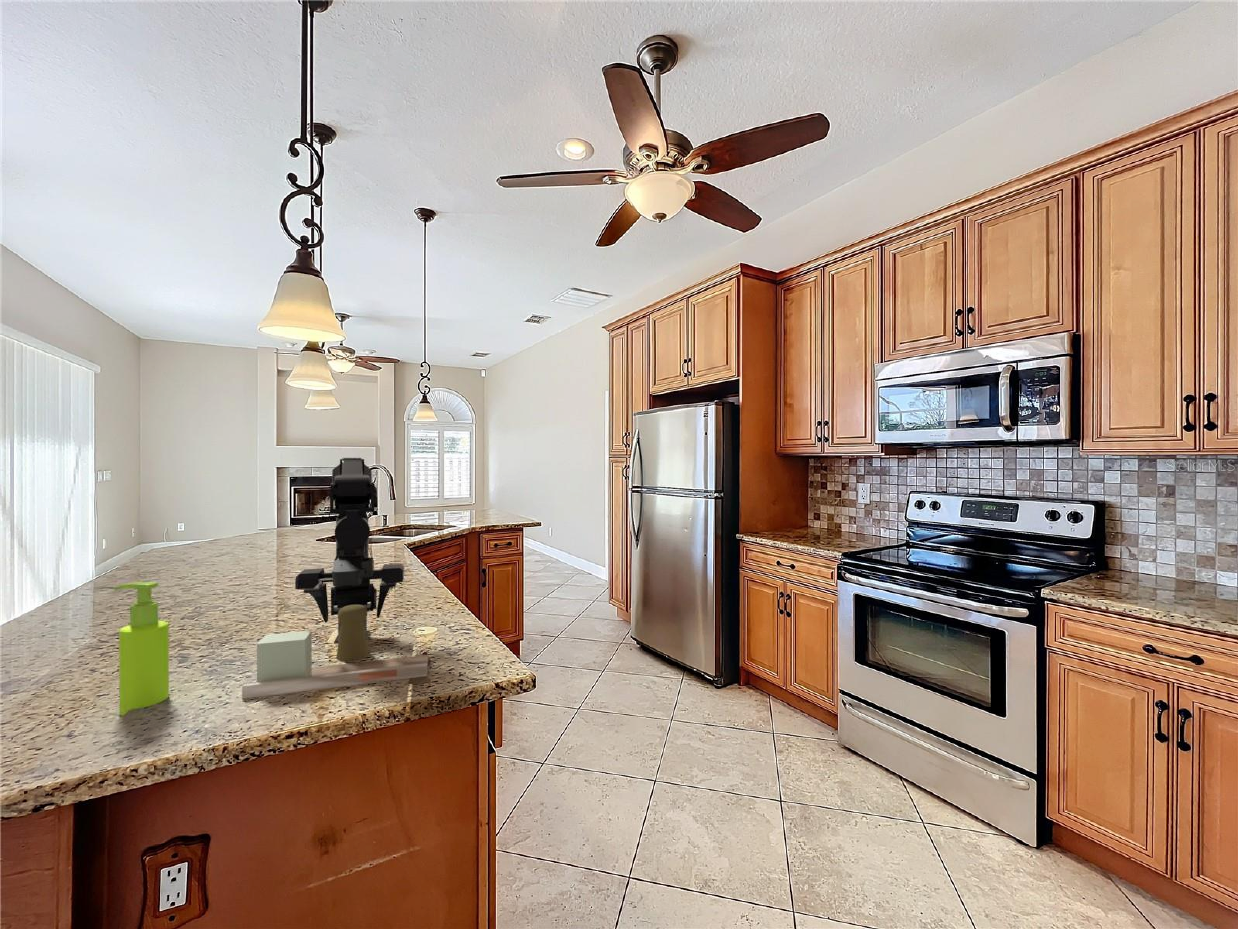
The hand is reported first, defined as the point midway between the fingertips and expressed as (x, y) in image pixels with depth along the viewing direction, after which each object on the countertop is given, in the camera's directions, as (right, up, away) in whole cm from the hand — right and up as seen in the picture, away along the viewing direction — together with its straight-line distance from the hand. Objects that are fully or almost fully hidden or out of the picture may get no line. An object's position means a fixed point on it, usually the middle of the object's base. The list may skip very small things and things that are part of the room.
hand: (352, 619), depth 105 cm
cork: (0, -8, 0) cm, 8 cm away
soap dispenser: (-24, -9, -20) cm, 32 cm away
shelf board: (+3, -8, -10) cm, 13 cm away
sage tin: (-5, -7, -13) cm, 16 cm away
